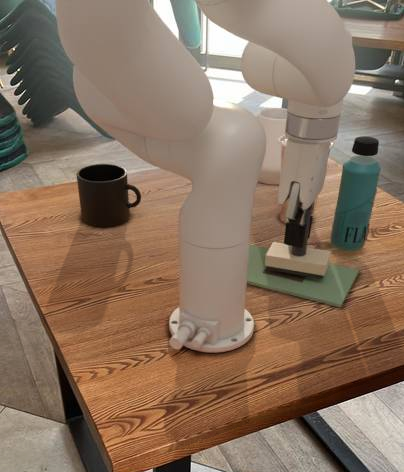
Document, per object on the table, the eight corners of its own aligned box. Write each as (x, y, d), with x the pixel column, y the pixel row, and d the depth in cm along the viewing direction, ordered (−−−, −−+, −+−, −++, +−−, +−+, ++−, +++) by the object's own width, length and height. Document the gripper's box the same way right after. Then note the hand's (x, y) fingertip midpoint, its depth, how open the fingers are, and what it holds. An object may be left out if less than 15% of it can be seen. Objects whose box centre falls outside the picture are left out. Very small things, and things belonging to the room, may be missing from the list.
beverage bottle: (337, 261, 101) (358, 147, 89) (321, 243, 106) (339, 133, 94) (370, 256, 103) (396, 144, 90) (353, 240, 108) (375, 131, 95)
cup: (263, 192, 124) (269, 126, 116) (232, 171, 133) (235, 109, 125) (313, 181, 129) (322, 117, 121) (279, 162, 138) (285, 101, 130)
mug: (137, 230, 109) (134, 184, 104) (76, 226, 110) (70, 180, 105) (146, 209, 117) (144, 165, 111) (89, 205, 118) (84, 162, 112)
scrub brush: (323, 280, 93) (333, 218, 86) (264, 270, 96) (268, 209, 89) (329, 265, 97) (338, 205, 90) (271, 256, 99) (276, 196, 93)
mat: (340, 307, 90) (341, 303, 90) (224, 277, 96) (224, 274, 96) (358, 272, 98) (359, 269, 98) (250, 247, 105) (250, 244, 104)
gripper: (303, 106, 89) (290, 217, 100) (268, 137, 77) (257, 258, 89) (351, 113, 86) (332, 226, 98) (321, 146, 75) (303, 269, 86)
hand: (296, 240), depth 93 cm, fingers closed on scrub brush, 2 cm apart
